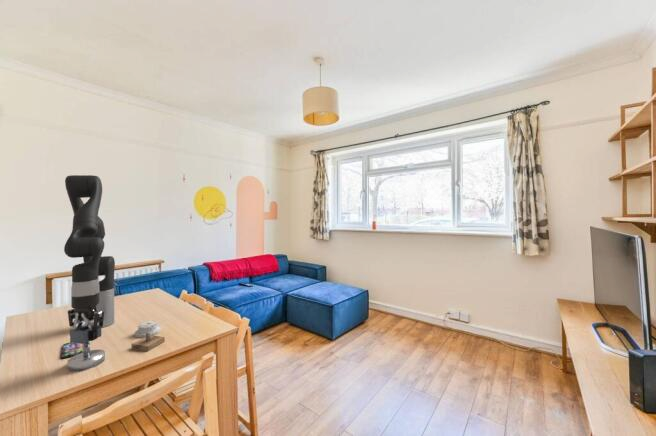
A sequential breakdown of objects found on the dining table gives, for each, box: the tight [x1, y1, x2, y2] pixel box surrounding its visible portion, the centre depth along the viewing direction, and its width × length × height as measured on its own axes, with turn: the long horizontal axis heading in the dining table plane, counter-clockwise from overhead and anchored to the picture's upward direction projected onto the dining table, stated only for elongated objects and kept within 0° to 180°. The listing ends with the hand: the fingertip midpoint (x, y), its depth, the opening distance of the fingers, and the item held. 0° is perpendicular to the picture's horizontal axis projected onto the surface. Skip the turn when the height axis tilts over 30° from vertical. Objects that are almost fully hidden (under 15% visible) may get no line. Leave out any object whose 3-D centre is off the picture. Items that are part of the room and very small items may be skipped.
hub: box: [67, 341, 106, 372], centre depth 96 cm, size 10×10×8 cm
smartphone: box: [60, 341, 84, 360], centre depth 107 cm, size 8×1×15 cm
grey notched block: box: [69, 324, 102, 344], centre depth 96 cm, size 6×6×4 cm
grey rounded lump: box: [134, 320, 162, 338], centre depth 122 cm, size 10×4×10 cm
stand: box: [131, 332, 166, 352], centre depth 110 cm, size 8×8×5 cm
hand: (86, 338), depth 96 cm, fingers closed on grey notched block, 6 cm apart
